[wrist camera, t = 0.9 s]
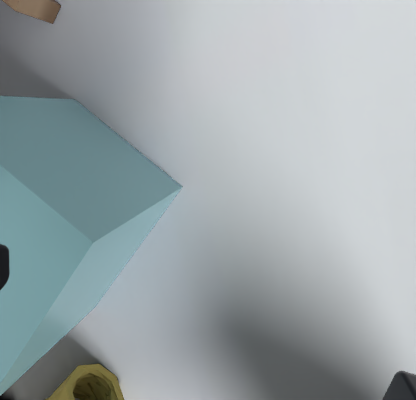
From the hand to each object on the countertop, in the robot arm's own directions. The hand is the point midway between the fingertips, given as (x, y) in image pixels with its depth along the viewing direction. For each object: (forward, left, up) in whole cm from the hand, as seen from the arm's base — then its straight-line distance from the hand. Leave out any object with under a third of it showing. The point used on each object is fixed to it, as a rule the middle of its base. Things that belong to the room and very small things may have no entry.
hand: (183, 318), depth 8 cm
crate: (-5, +11, -14) cm, 19 cm away
